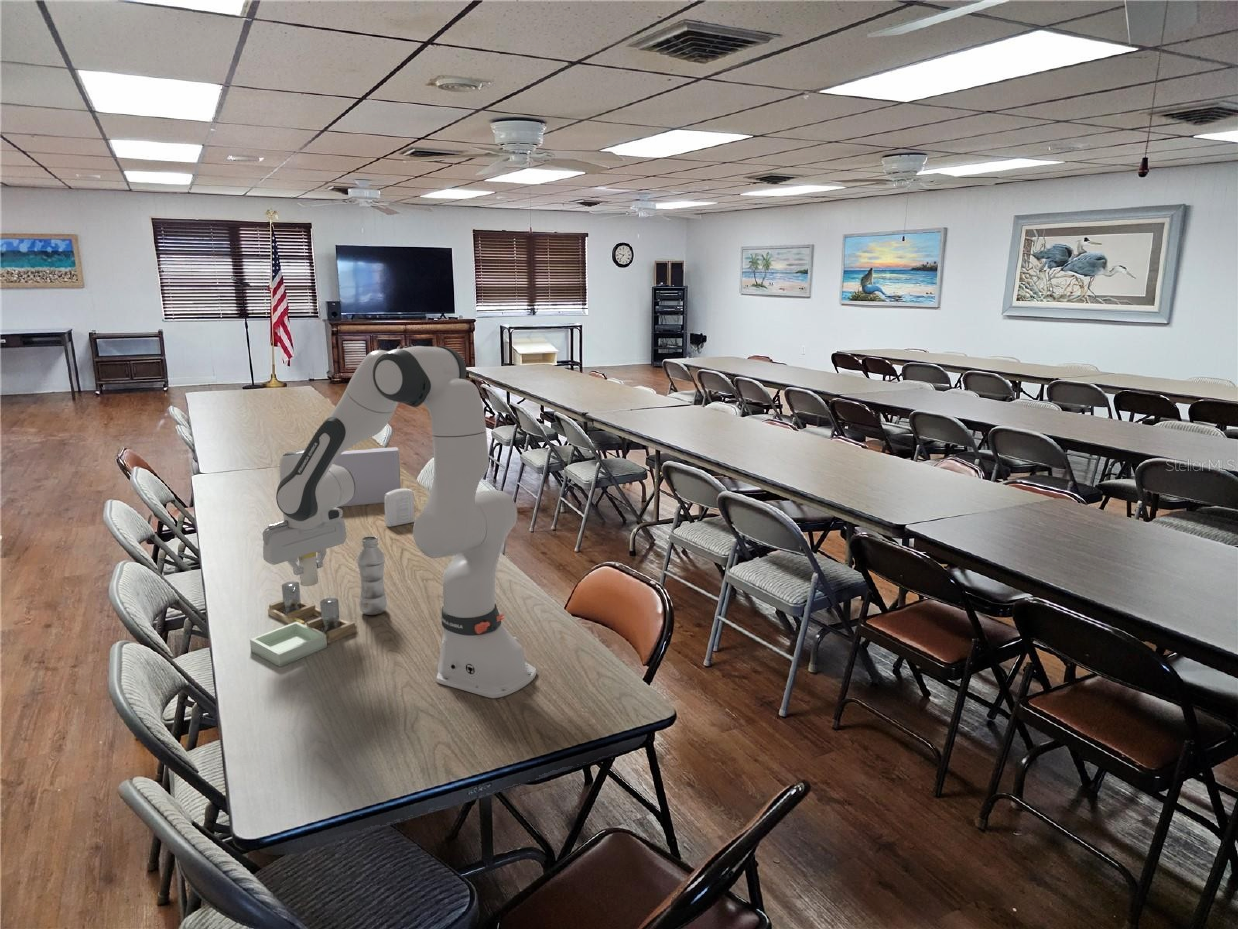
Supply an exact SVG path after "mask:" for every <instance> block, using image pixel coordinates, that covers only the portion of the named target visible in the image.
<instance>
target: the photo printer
mask: <svg viewBox="0 0 1238 929" xmlns="http://www.w3.org/2000/svg"><path fill="white" fill-rule="evenodd" d="M383 504H384V523H385V526H386V527H389V528H392V527H395V526H396V527H397V526H400V525H406V524H411V523H414V522H415V520H416V517H415V494H414V491H413V489H409V488H406V487H405V488H401V489H396V490H392V491H390V492H388V493H386V494H385V496H384V503H383Z"/></svg>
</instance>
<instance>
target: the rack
mask: <svg viewBox="0 0 1238 929" xmlns="http://www.w3.org/2000/svg"><path fill="white" fill-rule="evenodd" d="M282 612H283V613H282ZM267 613H268V615H269V616H271V617H273V618H275V619H277V620H279V621H281V622H283V623H285V624H286V625H289V624H291V623H294V622H299V623H301V624H303V625H305V626H307V627H309V628H312V629H314V630H316V631H318V632H320V633H322V634H324V635H326V642H327V644H330V643H333V642H336V641H338V640H340V639H342V638H344V637H347V636H349V635H352V634H354V633H357V631H358V628H357V625H356V622H354V621H350V622H349V621H347V620H344V619H343V618H340V617H339V620H340V627H337V628H335V629H332V630H330V631H328V632H327V634H325V633H323V632H322V619H321V608H318V607H316V604H314V603H312V604H309V603H307V602H305V601H302V600H301V609H298V610H295V611H292V612H290V613H287V615H288V616H287V615H285V614H284V606H283V599H282V600H279V601H275V602H273V603H270V604H269V605H268V609H267ZM314 615H315V616H316V617H317V618H314V619H312V620H311V619H310V620H309V621H307V622H305V621H304V619H307V618H309V617H312V616H314ZM320 630H321V631H320Z"/></svg>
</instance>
